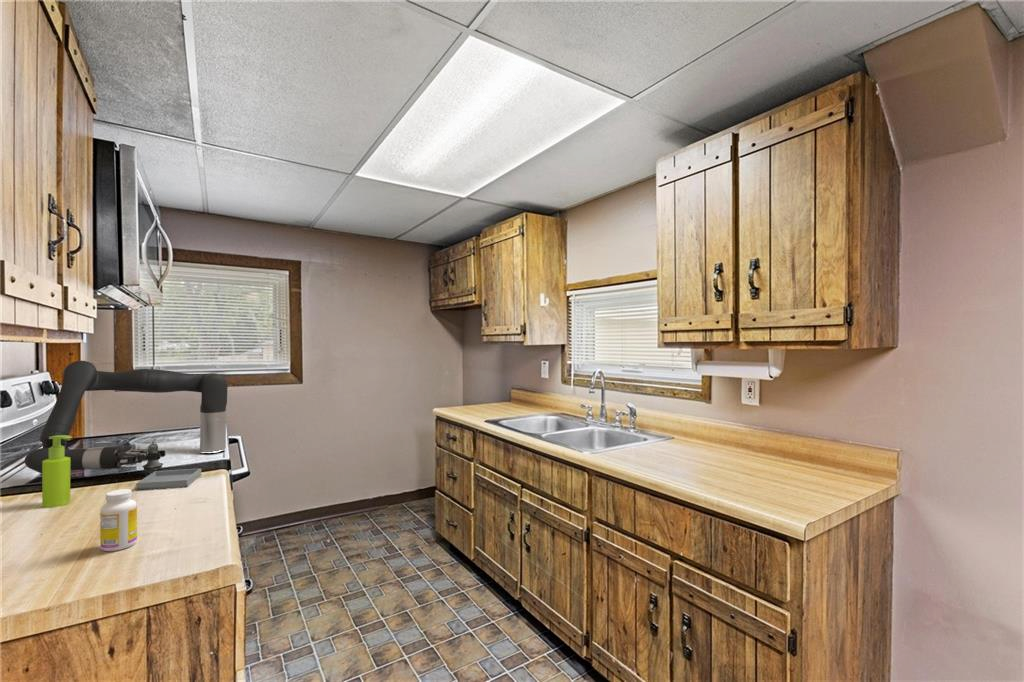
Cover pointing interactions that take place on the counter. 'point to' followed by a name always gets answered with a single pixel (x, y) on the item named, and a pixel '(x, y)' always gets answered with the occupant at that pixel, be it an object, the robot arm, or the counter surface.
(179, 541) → the counter surface
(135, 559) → the counter surface
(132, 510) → the supplement bottle
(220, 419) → the robot arm
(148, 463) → the dark gray chess piece
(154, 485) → the tray
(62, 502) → the soap dispenser
